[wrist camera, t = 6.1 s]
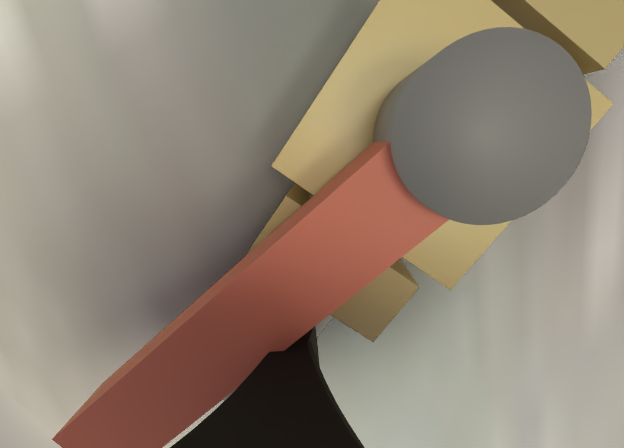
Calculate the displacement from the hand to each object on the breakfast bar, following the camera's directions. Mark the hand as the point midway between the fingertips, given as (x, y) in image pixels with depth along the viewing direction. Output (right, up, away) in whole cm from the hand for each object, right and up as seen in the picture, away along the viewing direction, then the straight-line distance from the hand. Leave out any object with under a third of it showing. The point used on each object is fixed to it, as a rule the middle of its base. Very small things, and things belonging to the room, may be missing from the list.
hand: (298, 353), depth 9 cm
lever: (0, +2, -1) cm, 3 cm away
